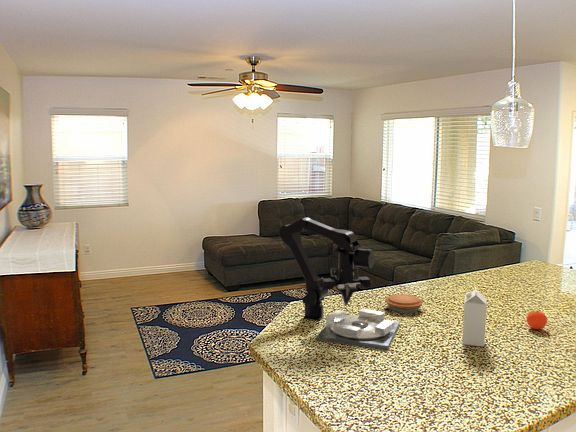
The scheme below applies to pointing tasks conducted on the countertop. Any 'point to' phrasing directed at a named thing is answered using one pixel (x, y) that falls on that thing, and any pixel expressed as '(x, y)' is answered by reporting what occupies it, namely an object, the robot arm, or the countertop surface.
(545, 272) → the countertop surface
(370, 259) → the robot arm
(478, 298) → the milk carton
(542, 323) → the tomato
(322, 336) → the base plate
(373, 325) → the slotted metal disc
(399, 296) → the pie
